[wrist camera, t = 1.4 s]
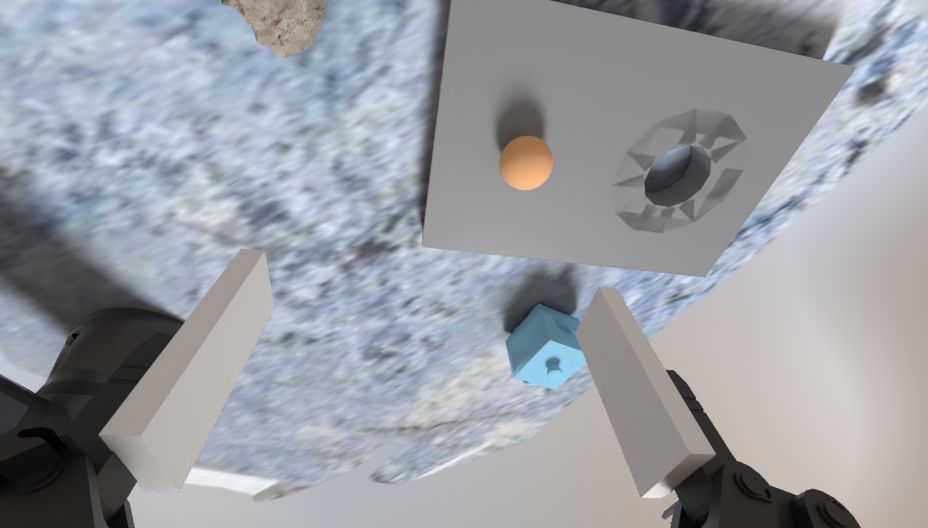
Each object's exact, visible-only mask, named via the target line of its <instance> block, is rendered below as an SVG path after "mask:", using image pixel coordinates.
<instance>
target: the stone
mask: <svg viewBox="0 0 928 528" xmlns="http://www.w3.org/2000/svg"><path fill="white" fill-rule="evenodd" d="M221 1H222V5H228V6H231V7H233V8H235V9H236V10H237V11H238V12H239V13H240V14H241V15H242V16H243V17H244V18H245V20H246V22H247V24H248V25H249V26H252V29H253V31H254V34H255V37H256V41H257V42H258V43H260V44H261V45H263V46H265V47H267V48H268V49H269V50H270V51H271V52H273V53H275V54H277V55H279V56H281V57H284V58H286V57H289V56H291V55H296V54H297V53H300V52H303V51H305V50H306V49H307V48H308V47H310V46H311V45H314V43H315V40H316V36H317V35H316V33H315V32H316V31H318V30H319V29H320V27H321V25H322V22H323V19H324V14H325V10H326V5H327V1H328V0H221Z"/></svg>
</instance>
